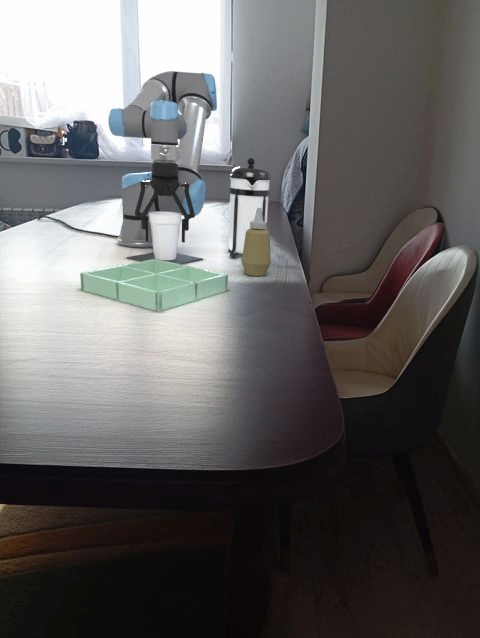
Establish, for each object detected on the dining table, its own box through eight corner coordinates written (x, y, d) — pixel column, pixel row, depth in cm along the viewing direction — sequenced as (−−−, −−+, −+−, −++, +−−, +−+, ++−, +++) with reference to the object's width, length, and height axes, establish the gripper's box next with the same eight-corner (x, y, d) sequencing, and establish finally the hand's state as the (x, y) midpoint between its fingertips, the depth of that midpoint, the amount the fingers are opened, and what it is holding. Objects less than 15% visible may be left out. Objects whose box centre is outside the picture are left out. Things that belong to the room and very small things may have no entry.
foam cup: (184, 256, 159) (184, 213, 154) (176, 262, 150) (176, 216, 145) (154, 253, 159) (153, 210, 155) (145, 259, 151) (144, 214, 146)
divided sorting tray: (81, 290, 118) (80, 272, 116) (154, 273, 137) (154, 258, 135) (158, 311, 106) (158, 293, 105) (227, 290, 125) (228, 274, 124)
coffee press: (280, 256, 169) (287, 160, 158) (246, 262, 158) (251, 158, 147) (243, 248, 180) (247, 157, 169) (209, 252, 169) (211, 155, 158)
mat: (126, 258, 152) (126, 257, 152) (163, 251, 165) (164, 250, 165) (167, 267, 145) (167, 266, 145) (202, 259, 157) (202, 258, 157)
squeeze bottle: (248, 278, 138) (252, 209, 132) (236, 271, 145) (239, 206, 139) (274, 276, 142) (279, 210, 136) (261, 270, 149) (265, 206, 142)
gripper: (123, 159, 139) (125, 242, 147) (206, 164, 144) (204, 244, 152) (123, 158, 146) (126, 237, 154) (203, 163, 151) (201, 239, 159)
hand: (165, 241), depth 153 cm, fingers open, 10 cm apart
